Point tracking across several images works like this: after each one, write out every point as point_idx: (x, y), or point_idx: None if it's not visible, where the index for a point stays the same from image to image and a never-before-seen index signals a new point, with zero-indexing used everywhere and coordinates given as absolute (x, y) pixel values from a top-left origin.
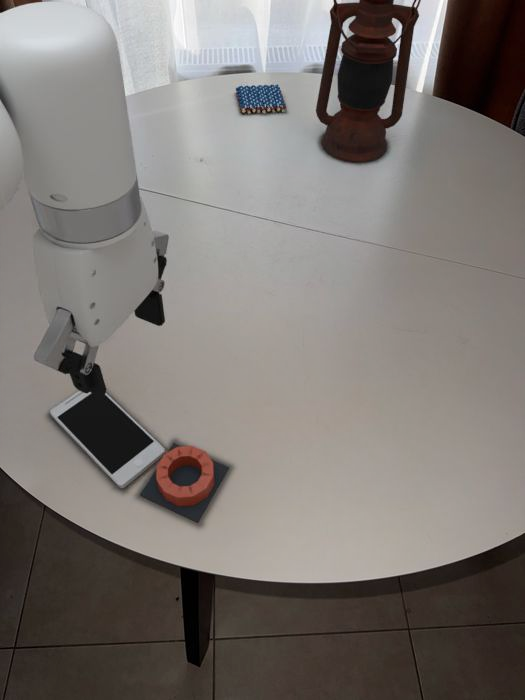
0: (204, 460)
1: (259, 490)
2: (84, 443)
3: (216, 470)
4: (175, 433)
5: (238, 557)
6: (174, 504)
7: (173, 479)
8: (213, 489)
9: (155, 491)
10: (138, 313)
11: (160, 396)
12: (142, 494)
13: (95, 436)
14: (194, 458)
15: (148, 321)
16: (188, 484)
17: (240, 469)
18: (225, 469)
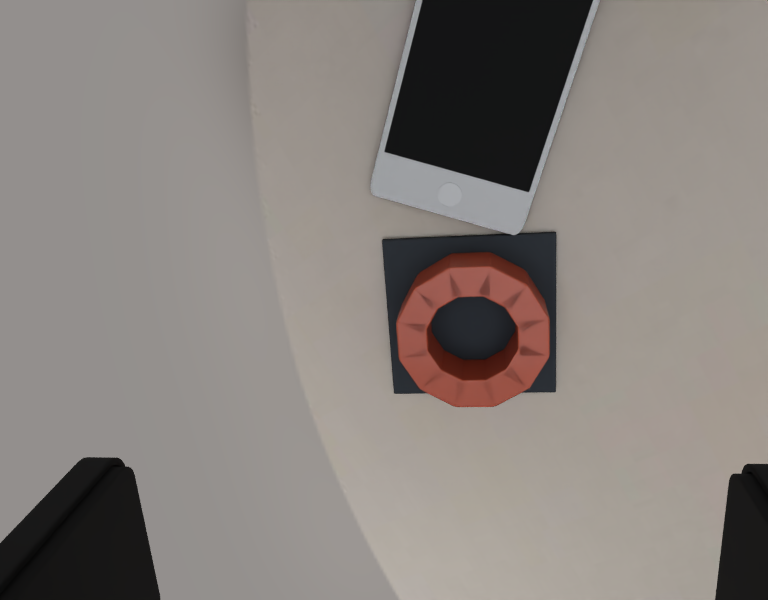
0: (523, 367)
1: (533, 472)
2: (425, 10)
3: None
4: (588, 216)
5: (374, 492)
6: None
7: None
8: None
9: (408, 270)
10: (744, 525)
11: (694, 98)
12: (385, 247)
13: (461, 23)
14: (517, 341)
15: (721, 560)
16: (464, 330)
17: (564, 414)
18: (544, 388)
